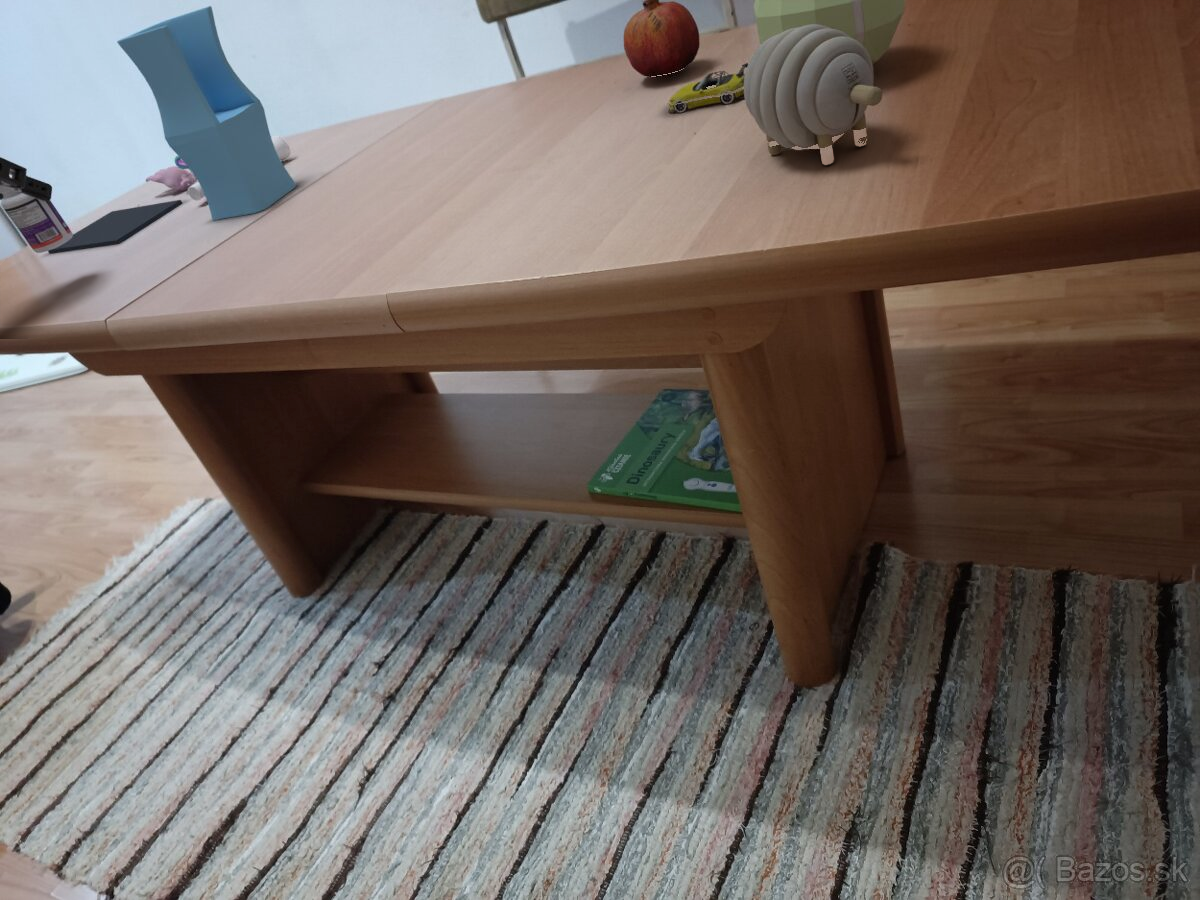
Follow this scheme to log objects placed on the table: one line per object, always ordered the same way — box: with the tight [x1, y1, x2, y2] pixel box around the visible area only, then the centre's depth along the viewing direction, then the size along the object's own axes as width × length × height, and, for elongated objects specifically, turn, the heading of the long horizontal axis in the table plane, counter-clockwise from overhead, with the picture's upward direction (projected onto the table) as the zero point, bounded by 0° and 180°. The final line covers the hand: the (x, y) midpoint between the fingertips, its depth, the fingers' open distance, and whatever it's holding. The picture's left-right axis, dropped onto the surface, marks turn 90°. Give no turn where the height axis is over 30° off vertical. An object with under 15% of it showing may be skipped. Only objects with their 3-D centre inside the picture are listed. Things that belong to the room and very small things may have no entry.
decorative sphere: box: [753, 0, 906, 65], centre depth 93 cm, size 15×15×15 cm
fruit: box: [622, 0, 700, 79], centre depth 115 cm, size 11×10×10 cm
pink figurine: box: [145, 155, 197, 191], centre depth 148 cm, size 6×6×15 cm
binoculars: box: [187, 134, 291, 201], centre depth 140 cm, size 10×16×5 cm, turn 163°
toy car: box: [667, 62, 749, 114], centre depth 103 cm, size 5×10×3 cm, turn 71°
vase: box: [116, 5, 298, 221], centre depth 122 cm, size 10×10×25 cm
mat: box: [47, 199, 183, 254], centre depth 142 cm, size 18×14×1 cm
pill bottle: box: [0, 174, 74, 254], centre depth 116 cm, size 5×5×10 cm
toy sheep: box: [740, 24, 883, 156], centre depth 79 cm, size 11×17×11 cm, turn 35°
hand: (36, 195), depth 116 cm, fingers closed on pill bottle, 5 cm apart
